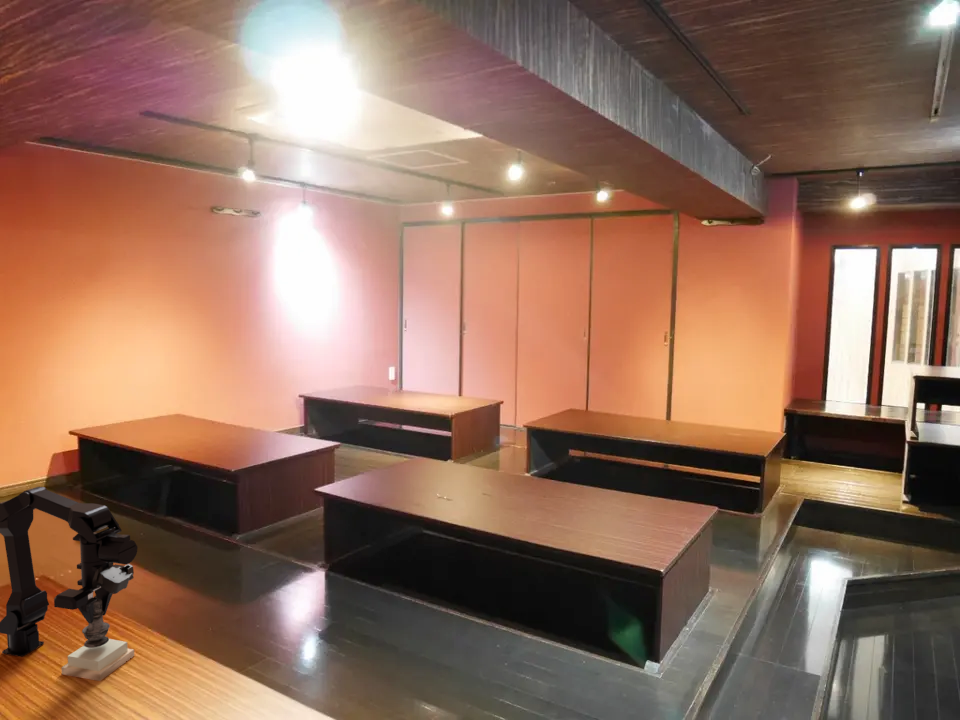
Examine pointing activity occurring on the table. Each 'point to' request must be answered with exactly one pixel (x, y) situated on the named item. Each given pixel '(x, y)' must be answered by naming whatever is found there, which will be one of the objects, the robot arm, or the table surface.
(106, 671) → the birch slab
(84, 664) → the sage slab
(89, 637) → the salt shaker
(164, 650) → the table surface
